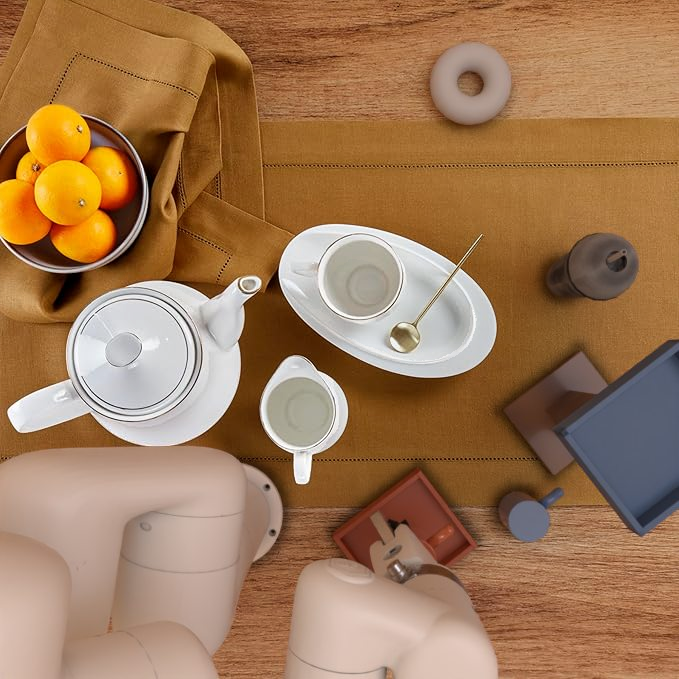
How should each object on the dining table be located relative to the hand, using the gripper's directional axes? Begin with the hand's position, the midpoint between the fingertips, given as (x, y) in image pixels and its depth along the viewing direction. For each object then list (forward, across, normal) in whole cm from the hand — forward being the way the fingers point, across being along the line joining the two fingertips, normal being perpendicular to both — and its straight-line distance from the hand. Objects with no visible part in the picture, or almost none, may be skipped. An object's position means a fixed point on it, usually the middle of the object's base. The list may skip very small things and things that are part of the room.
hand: (410, 548), depth 75 cm
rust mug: (0, 0, +2) cm, 2 cm away
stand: (+5, 0, +25) cm, 25 cm away
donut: (+5, -39, +40) cm, 56 cm away
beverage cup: (+5, -13, +35) cm, 38 cm away
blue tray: (-17, 0, +25) cm, 30 cm away
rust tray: (+5, 0, 0) cm, 5 cm away
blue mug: (+5, +6, +14) cm, 16 cm away
